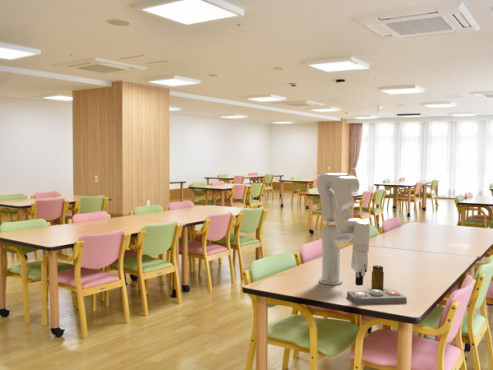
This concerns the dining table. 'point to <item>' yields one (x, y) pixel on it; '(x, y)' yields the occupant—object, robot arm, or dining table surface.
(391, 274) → the dining table surface
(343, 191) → the robot arm
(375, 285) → the condiment
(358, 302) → the panel
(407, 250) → the dining table surface
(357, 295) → the button cream
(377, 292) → the button sage
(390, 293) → the button terracotta
